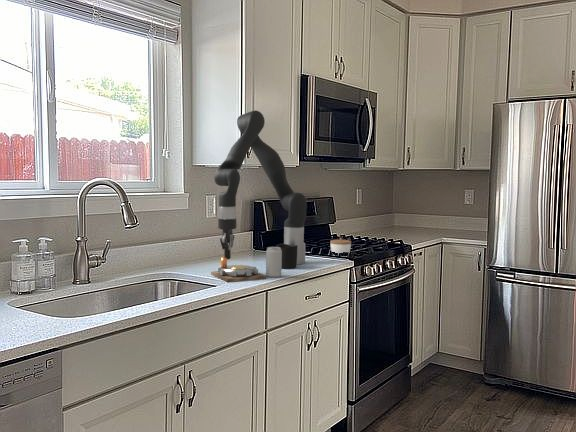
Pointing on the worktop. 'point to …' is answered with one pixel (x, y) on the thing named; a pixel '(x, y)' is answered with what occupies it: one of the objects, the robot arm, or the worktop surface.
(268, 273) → the beverage can
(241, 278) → the board
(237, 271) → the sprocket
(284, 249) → the pen holder
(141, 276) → the worktop surface
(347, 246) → the lidded jar
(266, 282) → the worktop surface
